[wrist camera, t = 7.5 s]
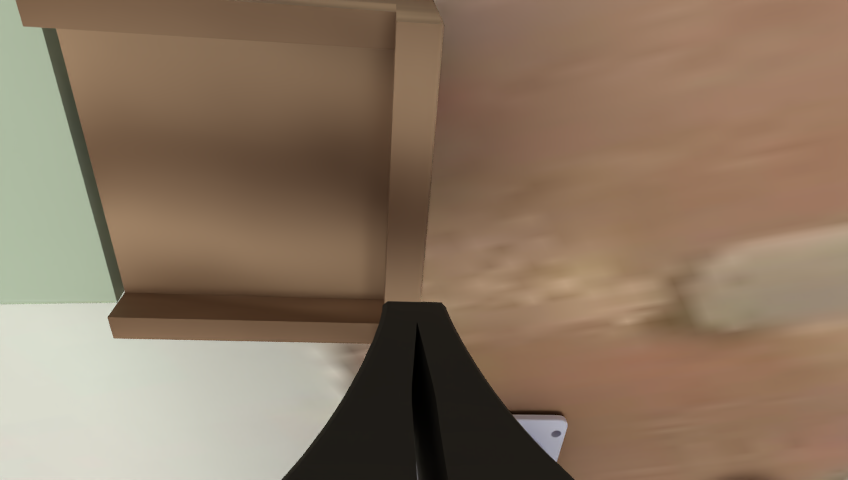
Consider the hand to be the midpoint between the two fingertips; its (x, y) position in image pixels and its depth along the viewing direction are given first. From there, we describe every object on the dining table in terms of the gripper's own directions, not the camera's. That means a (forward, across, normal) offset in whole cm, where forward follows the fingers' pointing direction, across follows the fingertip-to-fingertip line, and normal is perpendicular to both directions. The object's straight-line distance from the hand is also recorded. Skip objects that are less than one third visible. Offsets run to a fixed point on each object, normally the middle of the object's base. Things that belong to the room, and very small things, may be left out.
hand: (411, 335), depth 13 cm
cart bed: (+9, +5, 0) cm, 11 cm away
